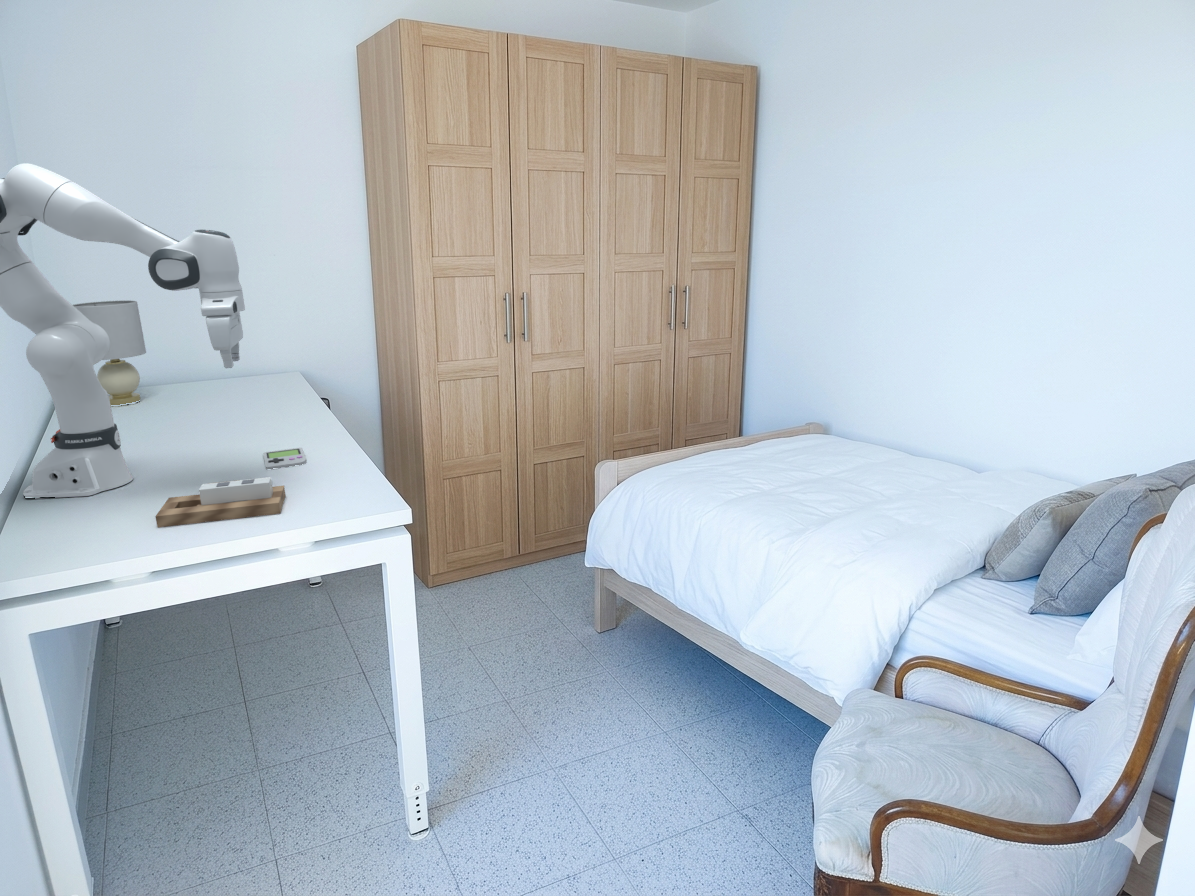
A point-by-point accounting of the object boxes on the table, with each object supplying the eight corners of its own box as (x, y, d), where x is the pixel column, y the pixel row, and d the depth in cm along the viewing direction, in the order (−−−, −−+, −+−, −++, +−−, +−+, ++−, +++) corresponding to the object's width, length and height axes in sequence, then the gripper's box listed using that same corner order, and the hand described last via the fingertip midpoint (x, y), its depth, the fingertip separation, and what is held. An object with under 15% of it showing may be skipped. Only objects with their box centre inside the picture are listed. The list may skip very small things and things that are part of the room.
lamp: (77, 408, 276) (54, 306, 266) (125, 395, 294) (106, 300, 284) (122, 410, 270) (101, 306, 260) (168, 398, 288) (150, 300, 278)
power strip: (203, 514, 169) (198, 489, 168) (206, 507, 173) (202, 483, 172) (272, 506, 173) (268, 481, 171) (274, 500, 177) (270, 476, 175)
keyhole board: (157, 527, 164) (155, 516, 163) (170, 508, 175) (168, 497, 174) (280, 513, 170) (278, 502, 169) (285, 495, 181) (284, 485, 180)
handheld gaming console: (265, 466, 200) (262, 451, 213) (266, 471, 201) (263, 456, 214) (307, 460, 204) (301, 446, 217) (307, 466, 205) (302, 451, 218)
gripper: (216, 300, 187) (225, 358, 191) (199, 309, 169) (209, 372, 172) (244, 299, 189) (253, 356, 193) (230, 307, 170) (240, 370, 174)
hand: (232, 364), depth 183 cm, fingers open, 8 cm apart
